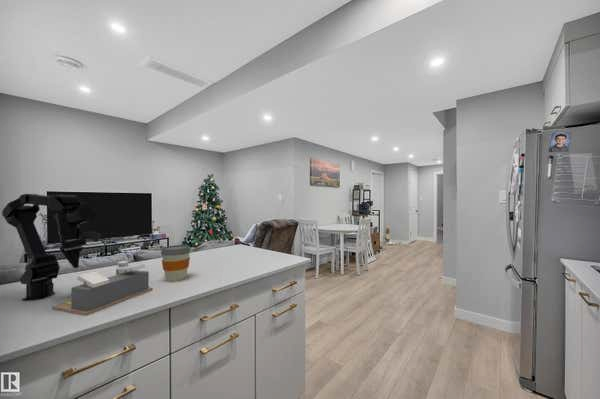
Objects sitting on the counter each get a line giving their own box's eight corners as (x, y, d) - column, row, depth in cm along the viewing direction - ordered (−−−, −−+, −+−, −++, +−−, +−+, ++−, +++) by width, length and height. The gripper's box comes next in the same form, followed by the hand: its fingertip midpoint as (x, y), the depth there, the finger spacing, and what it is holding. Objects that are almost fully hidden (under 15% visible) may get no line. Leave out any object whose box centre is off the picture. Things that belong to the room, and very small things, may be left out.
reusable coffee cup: (188, 280, 111) (188, 248, 111) (157, 283, 107) (157, 250, 107) (192, 273, 123) (192, 244, 123) (165, 275, 119) (164, 245, 119)
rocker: (118, 274, 95) (118, 270, 95) (131, 270, 100) (130, 266, 100) (133, 271, 93) (132, 267, 93) (145, 268, 98) (144, 264, 98)
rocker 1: (77, 280, 82) (78, 275, 82) (93, 275, 87) (94, 271, 86) (92, 288, 79) (93, 284, 79) (108, 284, 84) (109, 279, 84)
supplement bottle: (130, 280, 113) (130, 259, 113) (130, 283, 108) (130, 262, 109) (116, 282, 110) (116, 261, 110) (115, 285, 105) (115, 263, 106)
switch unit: (52, 309, 82) (52, 286, 82) (122, 286, 105) (122, 268, 105) (86, 315, 77) (86, 291, 77) (152, 289, 99) (152, 271, 100)
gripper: (100, 219, 90) (107, 260, 89) (93, 226, 102) (100, 262, 101) (58, 225, 82) (66, 270, 81) (56, 232, 94) (63, 271, 93)
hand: (76, 267), depth 89 cm, fingers closed
